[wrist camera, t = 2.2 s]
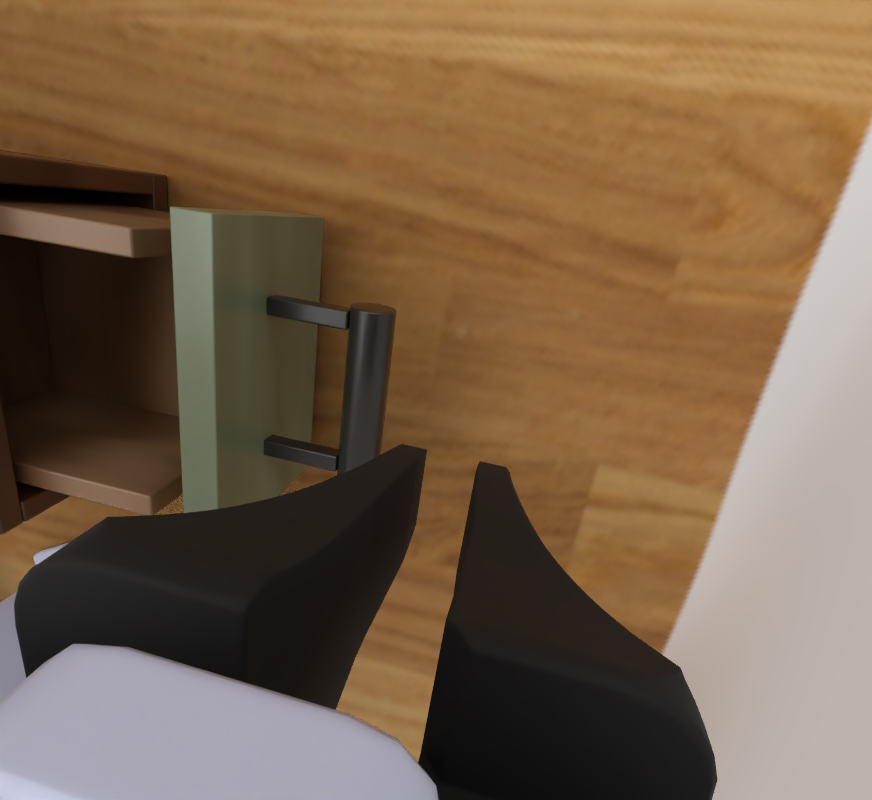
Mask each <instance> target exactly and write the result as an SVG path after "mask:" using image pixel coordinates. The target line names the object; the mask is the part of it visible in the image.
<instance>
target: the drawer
mask: <svg viewBox="0 0 872 800" xmlns="http://www.w3.org/2000/svg"><path fill="white" fill-rule="evenodd" d="M323 228H324V217H320V216H314V215H307V214H301V213H293V212H273V211H253V210H234V209H214V208H194V207H174V206H171V207H170V213H169V212H163V211H157V210H151V209H145V208H139V207H133V206H127V205H120V204H114V203H108V202H102V201H96V200H90V199H84V198H78V197H72V196H66V195H59V194H53V193H47V192H41V191H35V190H26V189H12V188H0V396H1V401H2V407H3V412H4V418H5V423H6V429H7V434H8V440H9V445H10V451H11V456H12V462H13V468H14V473H15V479H16V482H20V483H24V484H28V485H32V486H35V487H39V488H43V489H47V490H51V491H55V492H59V493H62V494H66V495H70V496H74V497H78V498H82V499H85V500H89V501H93V502H97V503H101V504H105V505H108V506H112V507H116V508H120V509H124V510H128V511H132V512H135V513H139V514H143V515H155V514H156V513H157V512H159V511H160V510H161V509H163V508H164V507H165V506H167V505H168V504H169V503H171V502H172V501H173V500H175V499H176V498H177V497H179V496H180V495H181V494H183V511H184V513H189V512H198V511H206V510H213V509H220V508H227V507H233V506H238V505H243V504H247V503H252V502H256V501H261V500H265V499H270V498H274V497H278V496H279V495H280V494H281V493H282V492H283V491H284V490H285V489H286V488H287V487H288V486H289V485H290V484H291V483H292V482H293V481H294V480H295V479H296V478H297V476H298V475H299V474H300V473H301V472H302V471H303V470H304V469H305V468H306V467H307V466H308V465H309V466H313V467H318V468H322V469H326V470H331V471H336V470H337V469H338V471H337V476H338V475H340V474H342V473H345V472H347V471H349V470H352V469H354V468H356V467H358V466H360V465H362V464H364V463H366V462H368V461H370V460H372V459H374V458H376V457H377V456H379V455H380V453H381V445H382V436H383V427H384V418H385V409H386V400H387V391H388V382H389V373H390V365H391V356H392V347H393V338H394V329H395V320H396V310H395V309H393V308H391V307H389V306H385V305H380V304H374V303H355V304H352V305H351V308H347V307H341V306H336V305H331V304H325V303H320V302H319V298H320V280H321V263H322V245H323ZM318 325H323V326H328V327H333V328H338V329H344V330H347V329H349V333H348V346H347V358H346V371H345V383H344V396H343V408H342V421H341V434H340V446H339V449H335V448H330V447H326V446H321V445H317V444H312V443H311V438H312V420H313V403H314V385H315V368H316V350H317V333H318Z"/></svg>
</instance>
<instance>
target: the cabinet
mask: <svg viewBox="0 0 872 800" xmlns="http://www.w3.org/2000/svg"><path fill="white" fill-rule="evenodd" d="M0 188H12V189H26V190H35V191H41V192H47V193H53V194H59V195H66V196H72V197H78V198H84V199H90V200H96V201H102V202H108V203H114V204H120V205H127V206H133V207H139V208H145V209H151V210H157V211H163V212H168V202H167V180H166V176H165V175H161V174H154V173H148V172H141V171H134V170H128V169H121V168H115V167H108V166H102V165H95V164H88V163H82V162H75V161H69V160H62V159H56V158H49V157H43V156H36V155H29V154H23V153H16V152H10V151H3V150H0ZM69 496H70V495H66V494H62V493H59V492H55V491H51V490H47V489H43V488H39V487H35V486H32V485H28V484H24V483H20V482H16V479H15V473H14V468H13V462H12V456H11V451H10V445H9V440H8V434H7V429H6V423H5V418H4V412H3V407H2V401H1V396H0V534H4V533H6V532H7V531H9V530H11V529H13V528H14V527H16V526H18V525H20V524H21V523H22V522H23V521H27V520H29V519H31V518H32V517H34V516H36V515H38V514H39V513H41V512H43V511H45V510H46V509H48V508H50V507H52V506H53V505H55V504H57V503H59V502H60V501H62V500H64V499H66V498H67V497H69Z"/></svg>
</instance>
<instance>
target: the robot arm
mask: <svg viewBox="0 0 872 800" xmlns="http://www.w3.org/2000/svg"><path fill="white" fill-rule="evenodd" d="M426 453H427V450H426V449H421V448H417V447H412V446H407V445H403V444H401V445H399V446H397V447H395V448H393V449H391V450H389V451H387V452H385V453H383V454H381V455H379V456H377V457H376V458H374V459H372V460H370V461H368V462H366V463H364V464H362V465H360V466H358V467H356V468H354V469H352V470H349V471H347V472H345V473H342V474H340V475H338V476H335V477H333V478H331V479H328V480H326V481H324V482H321V483H319V484H316V485H313V486H310V487H308V488H305V489H302V490H298V491H295V492H292V493H289V494H285V495H282V496H278V497H274V498H270V499H265V500H261V501H256V502H252V503H247V504H243V505H238V506H233V507H227V508H220V509H213V510H206V511H198V512H189V513H179V514H167V515H147V516H127V517H107V518H106V519H104V520H103V521H101V522H100V523H98V524H97V525H95V526H94V527H92V528H91V529H89V530H88V531H86V532H85V533H83V534H82V535H80V536H79V537H77V538H76V539H74V540H73V541H71V542H68V543H65V544H61V545H58V546H54V547H51V548H48V549H44V550H41V551H40V552H38V553H37V554H35V555H34V562H35V564H36V566H34V567H33V568H31V569H30V570H29V572H28V573H27V574H26V575H25V576H24V578H23V579H22V580H21V581H20V583H19V587H18V590H17V591H16V592H15V593H13V594H12V595H10V596H9V597H7V598H6V599H5V600H3V601H2V602H0V800H712V796H713V793H714V789H715V786H716V783H717V774H716V765H715V757H714V753H713V750H712V747H711V744H710V741H709V738H708V735H707V732H706V729H705V726H704V723H703V721H702V718H701V715H700V712H699V710H698V707H697V705H696V702H695V700H694V698H693V696H692V694H691V691H690V689H689V687H688V685H687V683H686V681H685V678H684V676H683V673H682V670H681V669H680V667H679V666H677V665H676V664H674V663H673V662H672V661H670V660H669V659H667V658H666V657H664V656H663V655H662V654H660V653H659V652H657V651H656V650H655V649H653V648H652V647H650V646H649V645H647V644H646V643H645V642H643V641H642V640H640V639H639V638H638V637H636V636H635V635H633V634H632V633H631V632H629V631H628V630H627V629H626V628H624V627H623V626H622V625H621V624H620V623H618V622H617V621H616V620H615V619H614V618H612V617H611V616H610V615H609V614H608V613H606V612H605V611H604V610H603V609H602V608H601V607H600V606H599V605H598V604H596V603H595V602H594V601H593V600H592V599H591V598H590V597H589V596H588V595H587V594H586V593H585V592H584V591H583V590H582V589H581V588H580V587H579V586H578V585H577V584H576V583H575V582H574V581H573V580H572V579H571V578H570V577H569V576H568V574H567V573H566V572H565V571H564V570H563V569H562V568H561V566H560V565H559V564H558V563H557V561H556V560H555V559H554V558H553V556H552V555H551V554H550V552H549V551H548V550H547V549H546V547H545V546H544V544H543V543H542V541H541V539H540V538H539V536H538V534H537V533H536V531H535V530H534V528H533V526H532V524H531V522H530V521H529V519H528V517H527V515H526V513H525V511H524V509H523V507H522V505H521V503H520V501H519V498H518V496H517V493H516V491H515V488H514V486H513V483H512V480H511V476H510V472H509V471H508V469H507V468H506V467H503V466H498V465H494V464H489V463H485V462H479V464H478V467H477V470H476V474H475V479H474V485H473V490H472V495H471V500H470V505H469V511H468V516H467V521H466V526H465V532H464V537H463V542H462V547H461V553H460V558H459V563H458V568H457V574H456V582H455V590H454V596H453V599H452V603H451V606H450V609H449V612H448V616H447V619H446V623H445V628H444V633H443V639H442V644H441V649H440V654H439V660H438V665H437V670H436V676H435V681H434V686H433V691H432V697H431V702H430V707H429V712H428V718H427V723H426V728H425V734H424V739H423V744H422V749H421V754H420V758H419V762H418V763H417V761H416V760H415V759H414V758H413V757H412V756H411V754H410V753H409V752H408V751H407V750H406V749H405V748H404V746H403V745H402V744H401V743H400V742H399V741H398V739H397V738H395V737H393V736H391V735H389V734H387V733H385V732H383V731H381V730H379V729H377V728H375V727H373V726H371V725H369V724H368V723H366V722H364V721H362V720H360V719H358V718H356V717H354V716H352V715H350V714H347V713H344V712H341V711H338V710H336V707H337V704H338V702H339V699H340V696H341V694H342V691H343V689H344V686H345V683H346V681H347V678H348V675H349V673H350V670H351V668H352V665H353V662H354V660H355V657H356V655H357V653H358V650H359V648H360V646H361V644H362V642H363V639H364V637H365V635H366V633H367V631H368V629H369V627H370V625H371V623H372V621H373V619H374V617H375V615H376V613H377V611H378V609H379V608H380V606H381V604H382V602H383V600H384V598H385V596H386V594H387V592H388V590H389V588H390V586H391V584H392V582H393V580H394V578H395V576H396V574H397V572H398V570H399V568H400V566H401V564H402V562H403V560H404V557H405V554H406V551H407V549H408V546H409V543H410V540H411V537H412V534H413V531H414V528H415V525H416V520H417V513H418V507H419V500H420V493H421V487H422V480H423V473H424V466H425V460H426Z"/></svg>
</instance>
